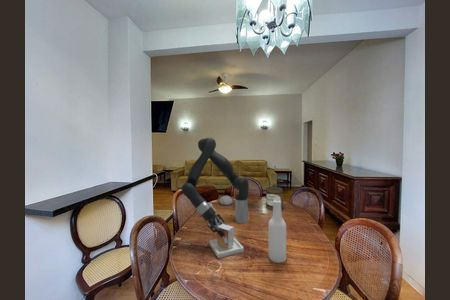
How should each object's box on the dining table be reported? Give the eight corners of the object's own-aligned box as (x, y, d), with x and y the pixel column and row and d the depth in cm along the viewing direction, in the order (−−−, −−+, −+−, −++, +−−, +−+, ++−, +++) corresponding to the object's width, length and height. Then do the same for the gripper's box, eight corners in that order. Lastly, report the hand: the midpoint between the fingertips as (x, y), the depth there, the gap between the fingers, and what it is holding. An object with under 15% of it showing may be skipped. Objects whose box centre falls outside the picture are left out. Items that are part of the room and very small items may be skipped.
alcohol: (273, 251, 106) (272, 197, 105) (288, 257, 100) (288, 200, 99) (265, 259, 99) (265, 201, 98) (282, 265, 94) (281, 204, 93)
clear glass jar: (263, 209, 174) (263, 185, 174) (269, 204, 187) (269, 182, 186) (280, 212, 166) (280, 186, 166) (284, 207, 179) (284, 183, 178)
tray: (232, 239, 120) (232, 235, 119) (243, 252, 106) (243, 247, 106) (209, 244, 114) (209, 240, 114) (217, 258, 100) (217, 253, 100)
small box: (216, 244, 110) (216, 226, 109) (222, 240, 114) (222, 223, 114) (228, 249, 105) (228, 230, 104) (234, 244, 109) (234, 226, 109)
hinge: (210, 218, 155) (206, 206, 155) (205, 219, 156) (201, 207, 156) (215, 210, 171) (212, 200, 172) (211, 212, 172) (207, 201, 173)
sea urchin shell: (234, 202, 196) (233, 194, 196) (230, 206, 183) (230, 198, 183) (221, 201, 200) (221, 193, 200) (217, 205, 187) (217, 197, 187)
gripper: (204, 210, 105) (225, 235, 102) (214, 202, 119) (233, 224, 116) (196, 219, 107) (216, 243, 104) (206, 210, 121) (224, 231, 118)
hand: (224, 233), depth 110 cm, fingers closed on small box, 6 cm apart
